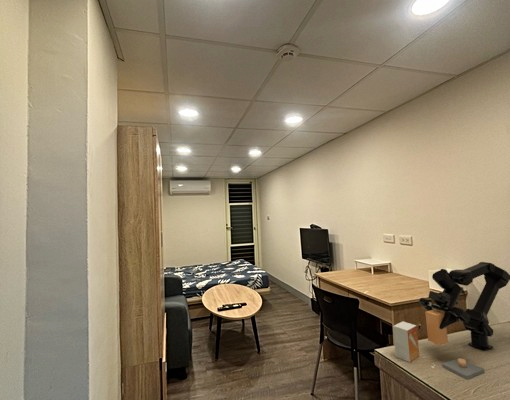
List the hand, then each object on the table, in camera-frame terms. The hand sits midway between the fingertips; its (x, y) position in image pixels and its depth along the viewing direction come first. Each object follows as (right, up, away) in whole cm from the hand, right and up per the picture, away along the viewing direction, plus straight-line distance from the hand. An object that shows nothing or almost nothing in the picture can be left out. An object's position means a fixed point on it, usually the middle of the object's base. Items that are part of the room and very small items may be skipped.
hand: (434, 326), depth 112 cm
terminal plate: (+5, -13, -9) cm, 16 cm away
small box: (-10, -15, +3) cm, 18 cm away
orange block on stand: (+2, -7, 0) cm, 7 cm away
